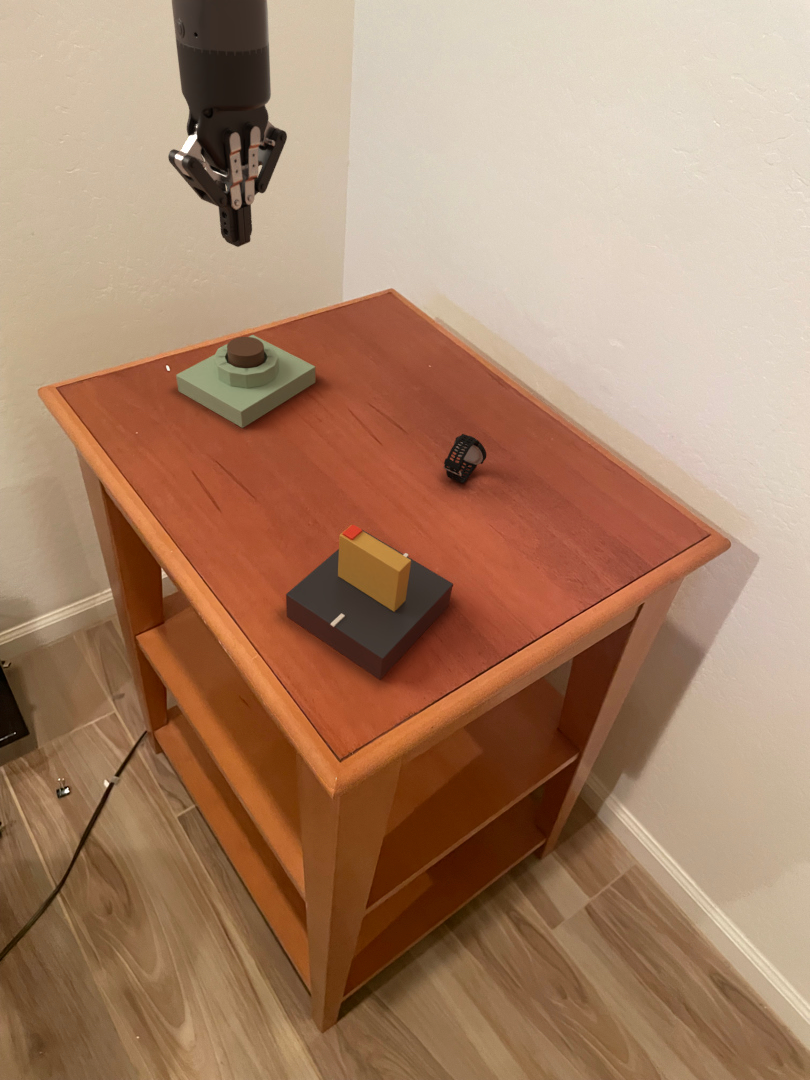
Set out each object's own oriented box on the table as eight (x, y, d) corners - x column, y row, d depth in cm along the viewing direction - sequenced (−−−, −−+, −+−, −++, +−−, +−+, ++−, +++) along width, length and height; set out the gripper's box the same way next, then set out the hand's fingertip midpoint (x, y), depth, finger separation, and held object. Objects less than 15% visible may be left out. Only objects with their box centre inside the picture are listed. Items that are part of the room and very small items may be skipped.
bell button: (246, 374, 80) (245, 360, 79) (220, 360, 82) (219, 346, 80) (272, 359, 83) (271, 346, 81) (246, 346, 84) (245, 332, 83)
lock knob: (405, 600, 61) (411, 557, 57) (394, 612, 60) (399, 569, 56) (349, 565, 63) (351, 521, 59) (337, 576, 62) (339, 532, 58)
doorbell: (242, 428, 79) (239, 397, 76) (178, 391, 83) (173, 360, 80) (315, 382, 86) (315, 352, 84) (253, 350, 90) (251, 320, 87)
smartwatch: (487, 480, 77) (496, 442, 73) (449, 497, 74) (456, 459, 71) (462, 458, 79) (469, 420, 75) (425, 474, 77) (430, 436, 73)
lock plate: (379, 681, 58) (382, 658, 56) (285, 617, 62) (284, 593, 60) (449, 605, 65) (454, 581, 62) (360, 551, 68) (362, 527, 66)
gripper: (193, 57, 55) (215, 277, 67) (310, 34, 63) (310, 235, 75) (126, 34, 57) (159, 250, 70) (246, 15, 65) (257, 212, 78)
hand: (237, 242), depth 72 cm, fingers closed
